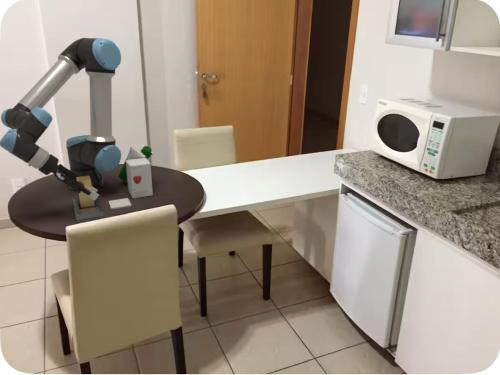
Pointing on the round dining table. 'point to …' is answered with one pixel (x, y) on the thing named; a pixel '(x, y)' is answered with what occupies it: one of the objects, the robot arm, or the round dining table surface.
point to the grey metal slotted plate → (87, 210)
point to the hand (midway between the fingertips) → (95, 194)
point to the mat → (119, 203)
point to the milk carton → (135, 157)
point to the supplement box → (139, 177)
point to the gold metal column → (84, 199)
